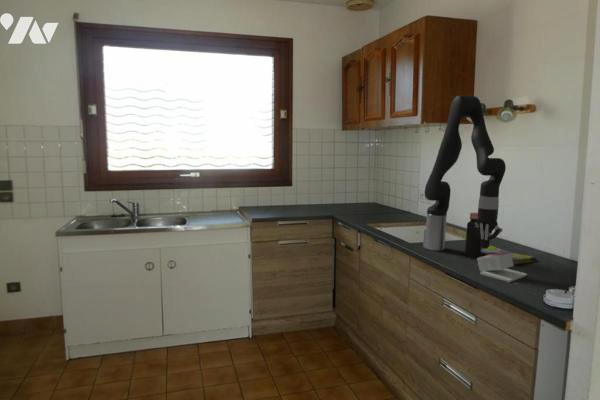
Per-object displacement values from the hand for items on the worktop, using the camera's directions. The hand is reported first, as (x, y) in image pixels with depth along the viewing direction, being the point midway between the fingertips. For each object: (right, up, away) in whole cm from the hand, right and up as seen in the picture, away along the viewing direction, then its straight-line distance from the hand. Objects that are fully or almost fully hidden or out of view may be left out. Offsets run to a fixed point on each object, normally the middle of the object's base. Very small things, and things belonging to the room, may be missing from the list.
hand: (484, 248), depth 178 cm
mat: (+5, -10, -5) cm, 13 cm away
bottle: (+4, -6, +22) cm, 24 cm away
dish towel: (+18, -7, +22) cm, 29 cm away
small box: (0, -6, +1) cm, 6 cm away
